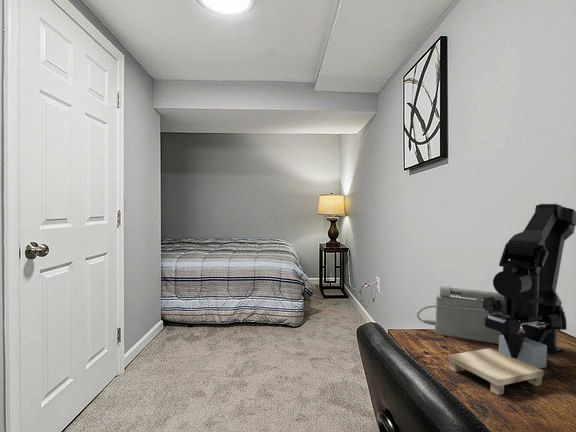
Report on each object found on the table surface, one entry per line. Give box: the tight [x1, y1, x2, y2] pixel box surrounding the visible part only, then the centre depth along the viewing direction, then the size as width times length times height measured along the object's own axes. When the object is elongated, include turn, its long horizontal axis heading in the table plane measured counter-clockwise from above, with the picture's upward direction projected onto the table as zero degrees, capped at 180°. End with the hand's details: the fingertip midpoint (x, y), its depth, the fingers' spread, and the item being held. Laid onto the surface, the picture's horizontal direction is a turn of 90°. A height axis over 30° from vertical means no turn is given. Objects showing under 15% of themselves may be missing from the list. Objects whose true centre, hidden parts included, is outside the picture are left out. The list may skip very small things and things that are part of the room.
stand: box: [447, 347, 544, 396], centre depth 73 cm, size 13×12×3 cm
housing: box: [498, 335, 548, 369], centre depth 81 cm, size 8×5×6 cm, turn 21°
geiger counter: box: [416, 285, 510, 345], centre depth 96 cm, size 14×6×25 cm
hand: (521, 356), depth 81 cm, fingers closed on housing, 5 cm apart
